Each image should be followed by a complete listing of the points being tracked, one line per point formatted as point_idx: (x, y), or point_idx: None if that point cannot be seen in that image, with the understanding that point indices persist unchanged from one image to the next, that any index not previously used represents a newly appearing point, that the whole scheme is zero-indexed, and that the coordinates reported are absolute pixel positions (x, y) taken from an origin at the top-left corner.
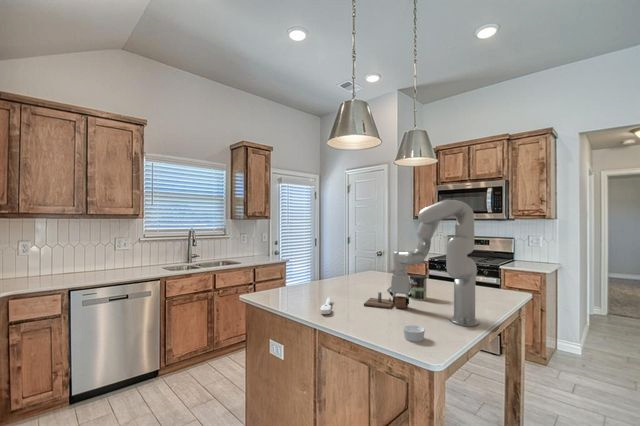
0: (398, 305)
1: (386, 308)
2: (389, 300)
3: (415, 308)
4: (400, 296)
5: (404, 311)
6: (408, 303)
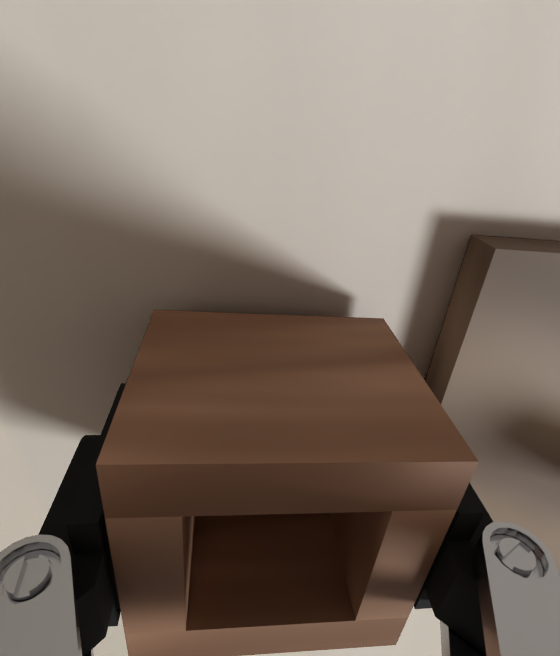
0: (314, 339)
1: (543, 242)
2: None
3: (16, 431)
4: (298, 635)
5: (160, 165)
6: (86, 439)
